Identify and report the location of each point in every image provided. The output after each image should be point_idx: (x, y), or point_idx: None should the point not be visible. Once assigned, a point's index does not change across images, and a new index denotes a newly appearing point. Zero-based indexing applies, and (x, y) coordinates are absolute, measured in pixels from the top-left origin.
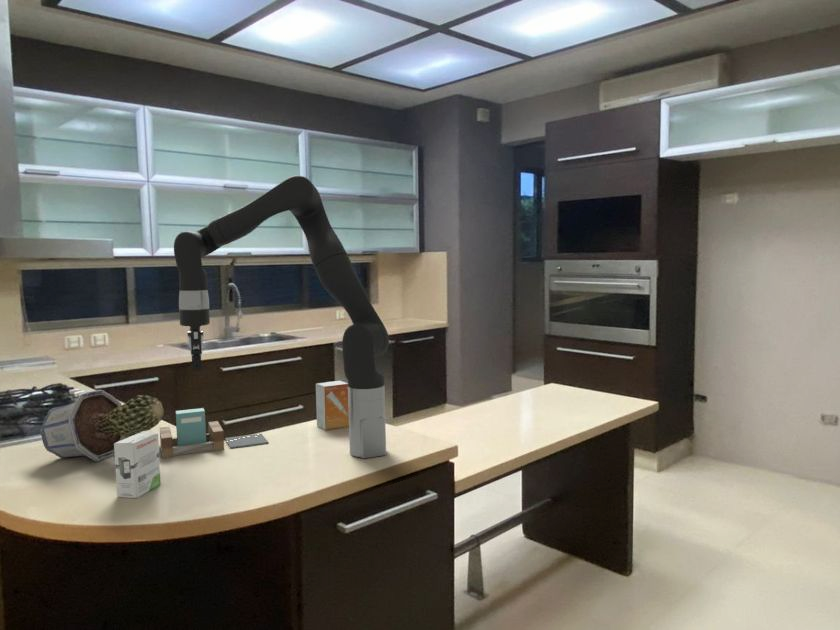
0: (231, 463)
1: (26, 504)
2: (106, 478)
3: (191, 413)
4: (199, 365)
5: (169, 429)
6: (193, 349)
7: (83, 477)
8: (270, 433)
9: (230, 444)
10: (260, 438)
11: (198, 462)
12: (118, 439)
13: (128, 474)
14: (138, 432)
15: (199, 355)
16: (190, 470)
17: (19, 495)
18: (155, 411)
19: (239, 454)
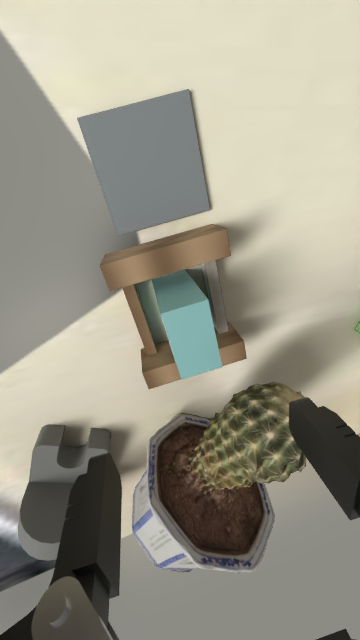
0: (322, 192)
1: (356, 423)
2: (305, 382)
3: (214, 332)
4: (341, 419)
5: (170, 365)
6: (106, 627)
7: None
8: (62, 81)
9: (185, 211)
10: (141, 119)
11: (285, 265)
12: (173, 433)
13: None
14: (54, 430)
15: (102, 525)
16: (327, 270)
17: None
18: None
19: (263, 178)
